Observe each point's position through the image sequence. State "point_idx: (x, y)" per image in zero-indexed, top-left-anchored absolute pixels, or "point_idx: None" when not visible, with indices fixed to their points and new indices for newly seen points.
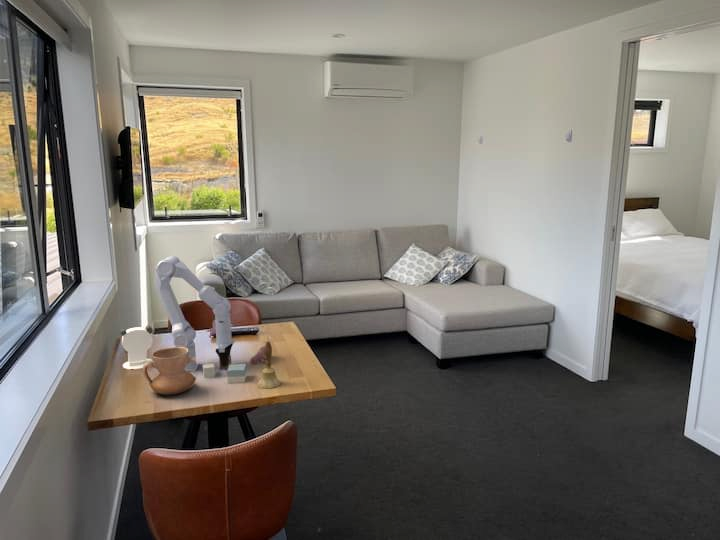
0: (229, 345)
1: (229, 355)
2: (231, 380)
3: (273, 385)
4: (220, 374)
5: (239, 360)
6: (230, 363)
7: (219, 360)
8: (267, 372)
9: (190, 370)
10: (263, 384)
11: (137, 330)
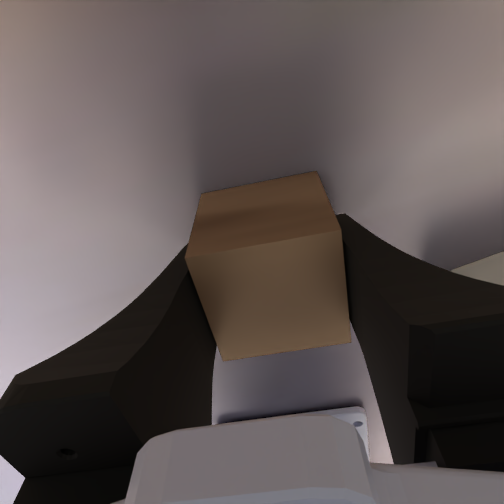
0: (145, 414)
1: (187, 276)
2: None
3: None
4: (471, 217)
5: (32, 150)
6: (274, 200)
7: (348, 330)
8: None
9: (367, 429)
10: None
11: None
